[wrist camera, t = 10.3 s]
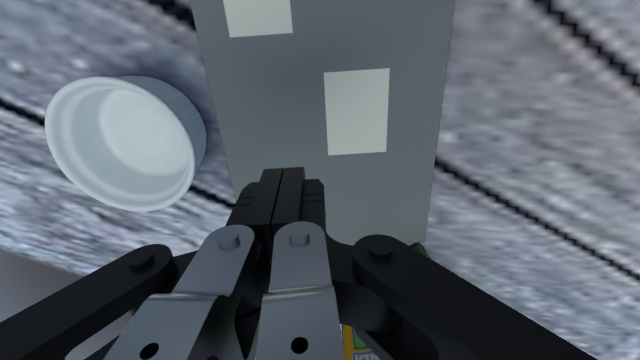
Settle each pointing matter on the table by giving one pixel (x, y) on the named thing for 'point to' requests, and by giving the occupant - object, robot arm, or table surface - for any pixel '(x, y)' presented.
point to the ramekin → (126, 140)
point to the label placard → (333, 101)
